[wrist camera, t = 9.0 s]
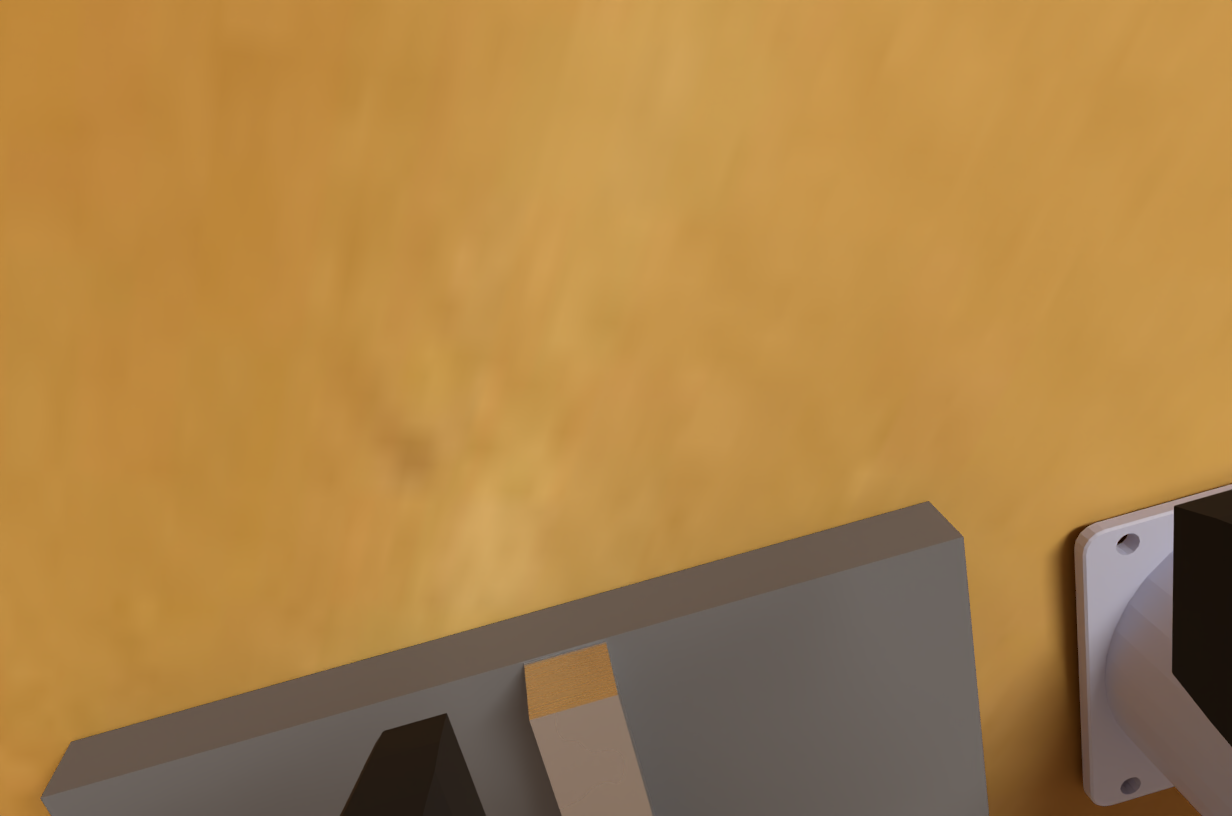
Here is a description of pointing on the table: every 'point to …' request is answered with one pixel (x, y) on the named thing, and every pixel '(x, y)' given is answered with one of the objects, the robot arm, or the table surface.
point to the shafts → (585, 734)
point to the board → (627, 697)
